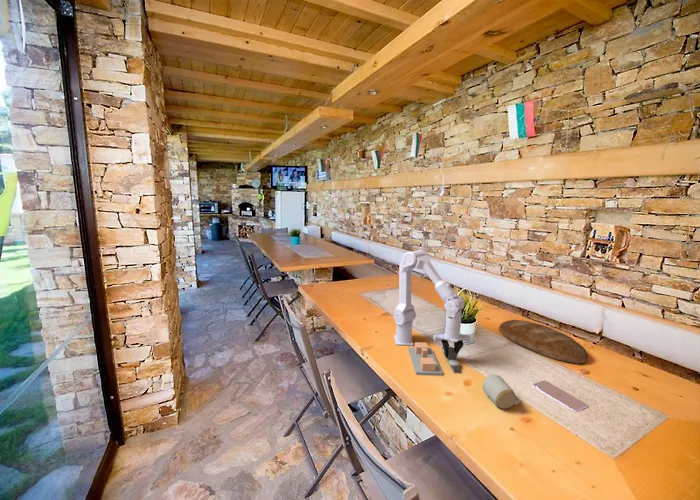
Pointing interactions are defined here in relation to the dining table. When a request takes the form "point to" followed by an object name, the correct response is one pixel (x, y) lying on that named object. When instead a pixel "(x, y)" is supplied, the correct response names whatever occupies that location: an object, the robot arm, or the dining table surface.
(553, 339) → the bread
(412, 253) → the robot arm
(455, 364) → the stacked ball block column
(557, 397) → the mobile phone
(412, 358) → the display stand
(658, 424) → the dining table surface
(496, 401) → the ceramic mug
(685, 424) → the dining table surface
